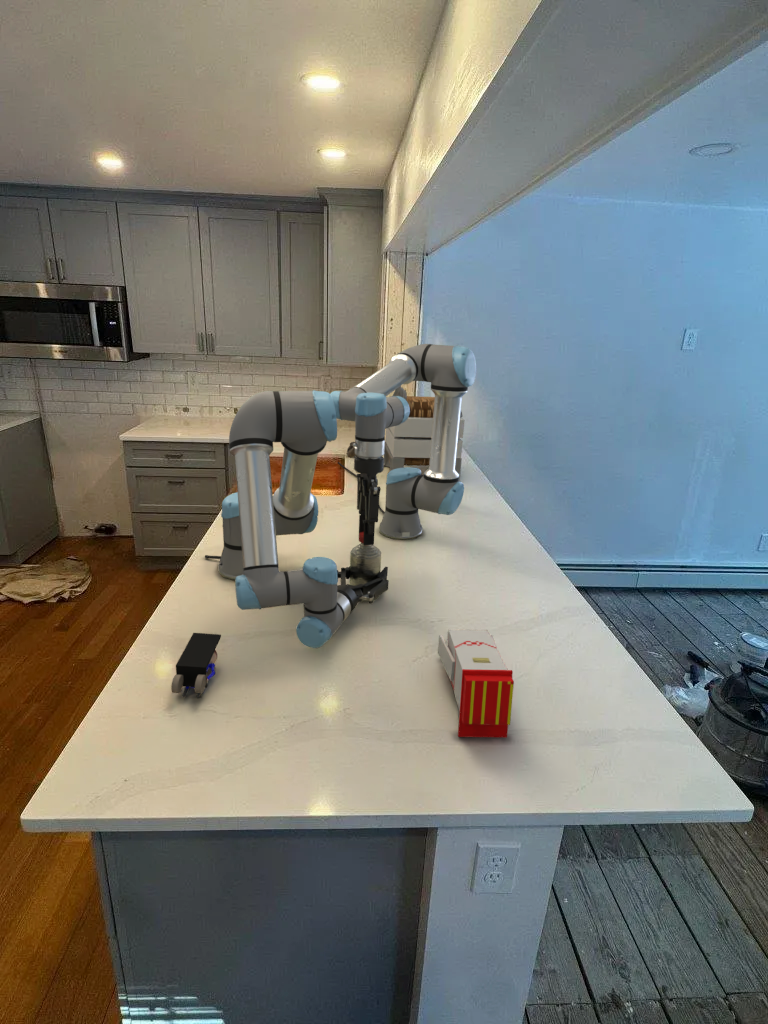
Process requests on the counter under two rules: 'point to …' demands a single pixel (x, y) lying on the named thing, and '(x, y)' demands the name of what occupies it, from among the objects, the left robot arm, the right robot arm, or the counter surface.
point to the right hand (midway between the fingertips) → (366, 540)
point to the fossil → (351, 450)
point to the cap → (361, 537)
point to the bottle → (364, 564)
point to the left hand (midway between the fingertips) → (371, 568)
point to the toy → (478, 682)
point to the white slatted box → (415, 435)
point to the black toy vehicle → (196, 663)
